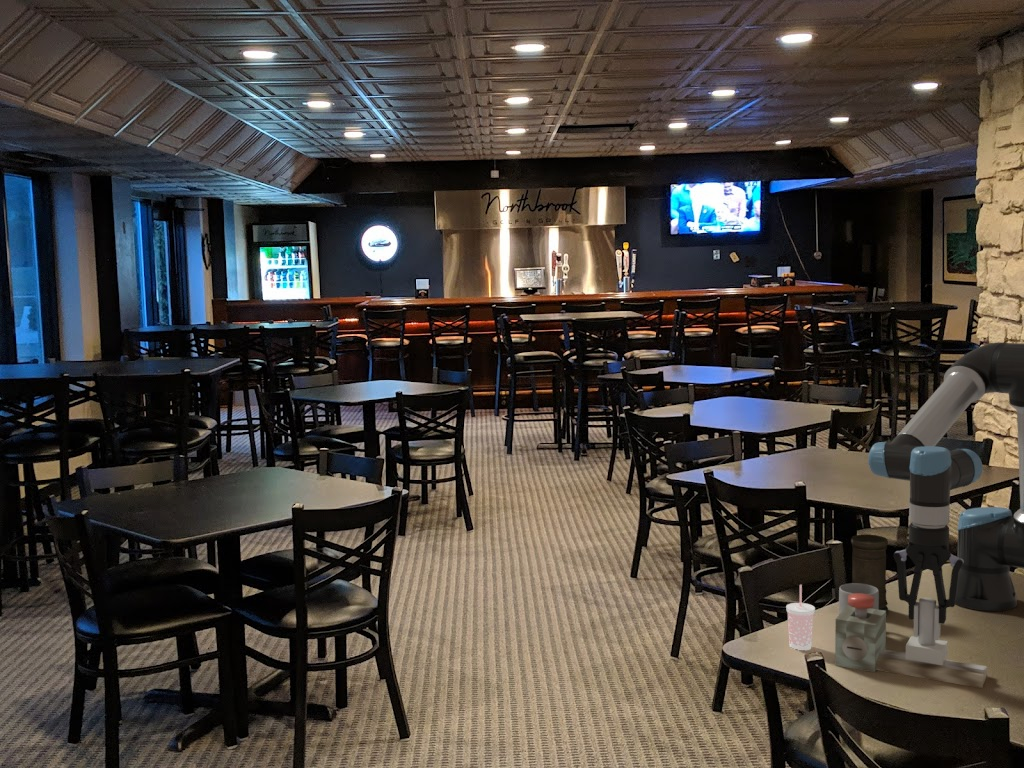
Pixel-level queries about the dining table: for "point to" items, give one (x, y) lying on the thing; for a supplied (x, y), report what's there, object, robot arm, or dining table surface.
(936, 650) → the carriage
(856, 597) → the button
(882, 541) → the container
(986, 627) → the dining table surface
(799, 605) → the beverage cup
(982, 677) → the rail rig
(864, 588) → the mug
